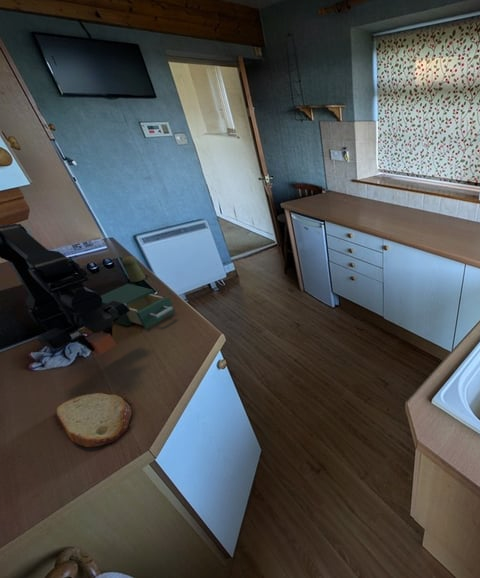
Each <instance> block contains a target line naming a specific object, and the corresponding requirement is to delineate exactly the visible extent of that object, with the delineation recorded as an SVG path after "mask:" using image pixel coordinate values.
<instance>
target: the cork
mask: <svg viewBox="0 0 480 578" xmlns="http://www.w3.org/2000/svg"><path fill="white" fill-rule="evenodd" d="M121 263H122V265H123V266H125V269H126V273H127V276H128V279H129V282H130V283H136V282H141V281H143V280H145V279H146V278H147V277H146V275H145V273H144V272H143V271H142V269H141V267H140V266H139V264H138V260H137V258H136V256H133V255H128V256H125V257H123V258H122V259H121Z"/></svg>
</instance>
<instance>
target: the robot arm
mask: <svg viewBox="0 0 480 578" xmlns="http://www.w3.org/2000/svg"><path fill="white" fill-rule="evenodd" d="M0 259H2V260H5V261H7V262H8V263H9V265H10V266H11V268H12V270H13V272H14V273H15V275H16V276H17V278H18V279H19V281H20V283H21V285H22V286H23V287H24V289H25V290H26V292H27V294H28V297H27V299H26V301H25V304H26V306H27V307H28V308H27V313H28V314H27V315H28V316H29V317H30V319H31V320H32V321H33V322H34V323H36V324H37V325H38V326H40V325H41V326H42V327H43V329H44V331H45V332H43V333H41V334H39V335H38V337H37V341H38V342H39V344H40V345H42V346H44V347H46V348H49V349H52V350H57V349H59V348H61V347H64V346H65V345H67V344H69V343H73V344H74V343H77V344H79V345H80V346H82V347H84V348H86V349H87V350H89V351H90V350H91V351H94V348H93V347H92V345H91V344H90V343H89V342H88V341H87V339H86V338H87V337H86V335H85V334H82V333H80V330H82V329H87V330H88V331H90V332H92V333H93V334H95V333H99V332H101V331H102V332H105V333H108V334H110V335H111V337H112V338H113V326H114V324H115V323H116V322H115V321H116V320H118V317H117V316H122V315H124V314H125V313H127V312H129V311H130V309H129V307H128V305H126V304H125V303H121V302H118V301H112V302H109V303H107V304H105V305H103V306H101V304H102V298H101V295H100V294H99V293H97V292H95V291H93V290H91V289H89V288H88V287H86V286H85V285H84V283H85V282H88V281H89V280H90V279H89V278H88V272H86V270H85V269H84V268H83V267H82V266H81V265H80V264H79V263H78V262H77V261H76V260H74V259H73V258H72V257H68V256H66V255H65V254H63V253H62V252H61V251H58V250H52V249H51V250H50V249H48V248H46V247H45V246H44V245H43V244H42V243H41V242H39V241H38V240H37V239H36V238H35V237H34V236H33V234H32V233H31V231H30V230H29V229H28V227H27V226H24V225H22V224H21V223H12V224H6V225H0ZM100 306H101V309H99V307H100ZM91 351H90V352H91Z"/></svg>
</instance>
